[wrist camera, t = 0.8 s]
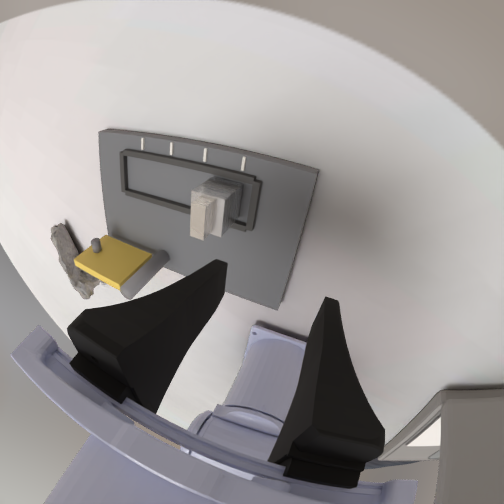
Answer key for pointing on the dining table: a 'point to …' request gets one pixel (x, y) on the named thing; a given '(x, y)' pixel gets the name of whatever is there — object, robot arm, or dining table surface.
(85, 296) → the stone
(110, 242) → the door
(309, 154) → the dining table surface
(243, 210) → the console
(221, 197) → the fader knob
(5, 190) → the dining table surface
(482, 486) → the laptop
